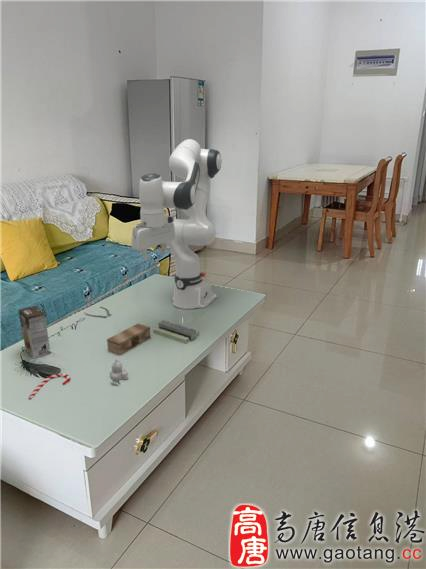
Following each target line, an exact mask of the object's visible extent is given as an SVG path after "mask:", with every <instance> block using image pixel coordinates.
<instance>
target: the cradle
mask: <svg viewBox="0 0 426 569" xmlns="http://www.w3.org/2000/svg"><path fill="white" fill-rule="evenodd" d="M152 333H153V334H155V335H158V336H162V337H164V338H167V339H170V340H174V341H176V342H179V343H182V344H188V343H189V342H190V341H189V338H188V337H184V336H181V335H178V334H175V333H172V332H169V331H166V330H163V329H160V328H159V327H155V328H153V329H152ZM199 336H200V331H198V330H196V338H197V337H199Z"/></svg>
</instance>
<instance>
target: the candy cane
mask: <svg viewBox="0 0 426 569" xmlns="http://www.w3.org/2000/svg"><path fill="white" fill-rule="evenodd" d="M57 378H63V379H64V378H65V379H66V380H65V381H63V382H62V385H63V386H66V385H68V383H70V381H71V376H70V375H69V374H67V373H56V374H53V375H49V376H47V377H46V378H44V379H43V380H42V381H41V382H40V383H39V384H38V385H37V386H36V387H35V388H34V389H33V390H32V392H31V394H30V395H29V396H28V400H33V399H34V398H35V396H36V395H37V394H38V392H39V391H40V390H41V389H42V388H43V386H45V385H46V384H47V383H48V382H50V381H51V380H53V379H57ZM40 388H41V389H40ZM35 394H36V395H35ZM33 397H34V398H33ZM32 398H33V399H32Z"/></svg>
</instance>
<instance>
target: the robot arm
mask: <svg viewBox="0 0 426 569" xmlns="http://www.w3.org/2000/svg"><path fill="white" fill-rule="evenodd" d="M222 163H223V162H222V155H221V153H220V151H219V150H218V149H213V148H212V149H211V148H210V149H208V148H207V149H206V148H202V147H201V145H200V144H199V142H198V141H196V140H195V139H193V138H192V139H191V138H188V139H184V140H183V141H182V142H180V143H179V144H178V145H177V146H176V147H175V148H174V149H173V151H172V153H171V154H170V155H169V159H168V166H169V169H170V171H171V172H172V174H174V175H175V176H176V177H177V178H180V179H184V180H185V181H164V180H163V179H162V176H161V175H160V174H157V173H146V174H144V175H142V176H141V177H140V179H139V184H138V185H139V186H138V195H139V198H138V199H139V204H140V212H139V215H140V216H139V217H140V223H137V224H135V226H133V228H132V234H131V248H132V250H133V251H137V252H138V251H139V252H140V254H141V255H142V260H143V261H146V262H147V261H149V260H150V254H147V251H148V249H150V248H153V247H156V246H157V247H158V246H160V245H161V249H159V254H160V255H166V254H167V248H169V250H170V251H171V253H172V257H173V259H174V268H175V274H174V278H173V279H174V284H173V296H172V297H171V300H172V305H173V306H175V307H176V308H178V309H183V310H184V309H185V310H193V309H205V308H206V307H207V306H208V305H210V304H211V303H212V302H213V301H214V300H215V299H217V294H216V293H214V292H213V291H212V286H211V285H210V284H209V283H208V282H206V281H205V280H203V278H206V274H207V273H206V272H203V271H201V263H200V262H201V260H200V257H199V255H198V254H197V253H195V252H194V251H192V250H191V248H190V247H189V246H196V247H197V246H198V247H202V246H203V247H204V246H210V245H211V244H213V243H214V240H215V239H216V235H217V234H216V233H217V232H216V228H215V226H214V225H213V223H212V222H211V221H210V220H209V219H208V217H207V205H208V201H209V198H210V191H211V179H213V178H214V177H215V176H216V175H217V174H218V173H219V171H220V170H221V168H222ZM165 208H166V209H178V210H182V213H184V215H186V216H187V217H189V218H188V219H183V218H181V219H180V218H175V217H174V216H171V215H167V214H166V211H165Z"/></svg>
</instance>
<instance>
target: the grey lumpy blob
mask: <svg viewBox="0 0 426 569" xmlns="http://www.w3.org/2000/svg"><path fill="white" fill-rule="evenodd" d="M110 368H111V371H110V372H109V378H110V380H111V381H112V382H114V383H119V382H120V381H121V380H127V379H129V378H128V374H129V372H128V371H126V369H125V368H123V363H122V362H121V361H120V360H119V359H117V358H114V362H113V363H112V365H111V367H110Z"/></svg>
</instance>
